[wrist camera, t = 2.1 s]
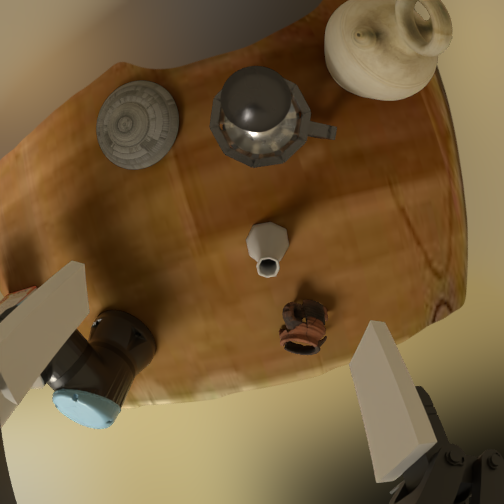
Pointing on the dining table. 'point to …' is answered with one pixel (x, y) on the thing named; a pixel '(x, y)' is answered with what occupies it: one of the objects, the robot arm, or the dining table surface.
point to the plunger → (258, 110)
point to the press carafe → (283, 154)
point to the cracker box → (15, 298)
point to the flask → (267, 247)
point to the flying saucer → (137, 124)
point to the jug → (385, 46)
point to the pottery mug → (304, 327)
